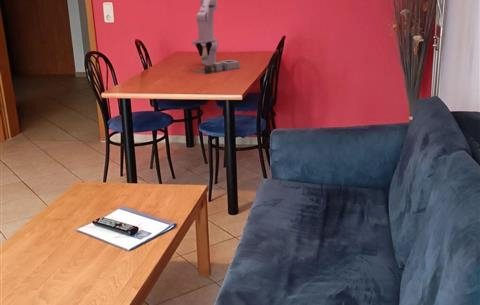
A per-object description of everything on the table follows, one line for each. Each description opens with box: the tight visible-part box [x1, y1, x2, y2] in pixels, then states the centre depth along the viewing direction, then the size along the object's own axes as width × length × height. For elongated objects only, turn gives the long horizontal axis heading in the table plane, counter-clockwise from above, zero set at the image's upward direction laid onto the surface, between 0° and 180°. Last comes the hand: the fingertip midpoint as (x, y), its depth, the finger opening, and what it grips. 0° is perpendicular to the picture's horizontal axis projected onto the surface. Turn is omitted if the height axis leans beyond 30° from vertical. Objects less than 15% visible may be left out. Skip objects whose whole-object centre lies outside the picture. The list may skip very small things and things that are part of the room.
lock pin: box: [204, 65, 216, 72], centre depth 347 cm, size 3×11×4 cm, turn 127°
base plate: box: [192, 67, 242, 75], centre depth 351 cm, size 16×26×1 cm, turn 127°
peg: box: [200, 46, 208, 61], centre depth 346 cm, size 4×4×8 cm
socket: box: [218, 59, 240, 71], centre depth 353 cm, size 9×9×4 cm
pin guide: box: [211, 61, 223, 71], centre depth 348 cm, size 6×4×4 cm
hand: (204, 55), depth 347 cm, fingers closed on peg, 4 cm apart
